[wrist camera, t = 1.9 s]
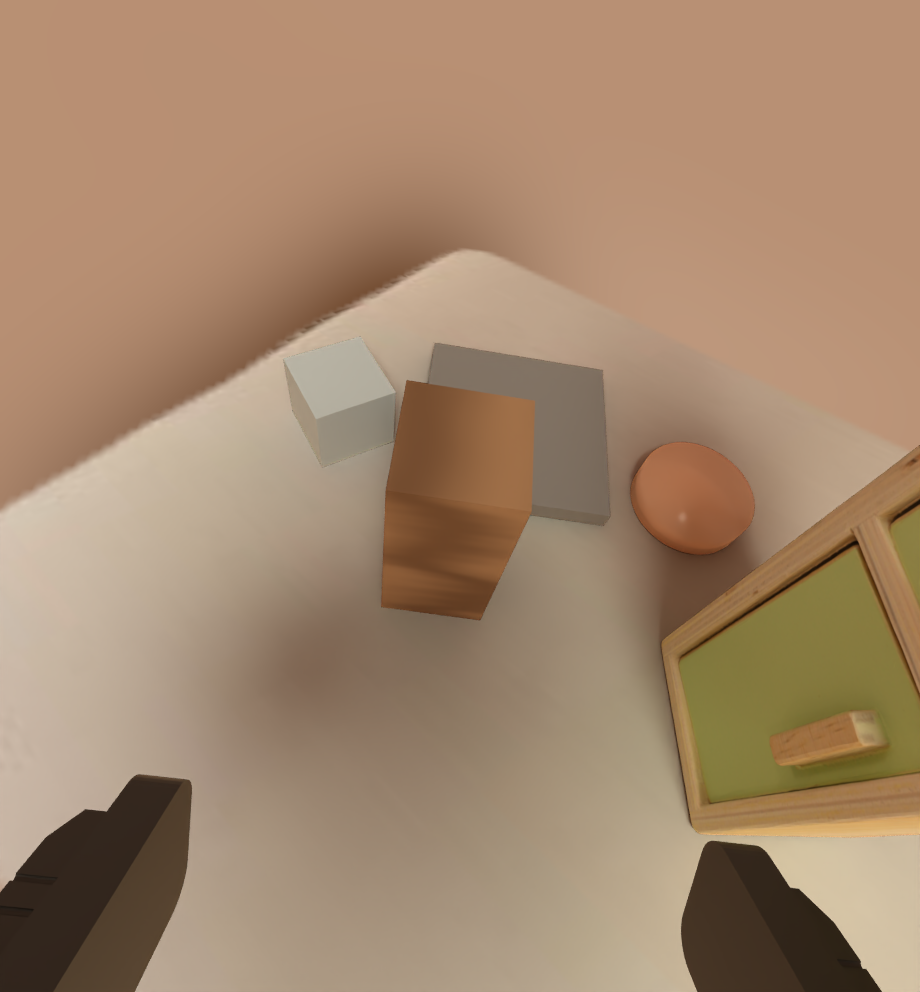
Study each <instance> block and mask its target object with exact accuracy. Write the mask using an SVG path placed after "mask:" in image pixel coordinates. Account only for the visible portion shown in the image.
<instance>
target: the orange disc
mask: <svg viewBox="0 0 920 992" xmlns="http://www.w3.org/2000/svg"><path fill="white" fill-rule="evenodd" d="M631 501H632V505H633V508H634V511H635V513H636V515H637V517H638V519H639V520H640V522H641V523H642V525H643V526H644V527H645V528H646V529H647V531H648V532H649V533H651V534H652V535H653V536H654V537H655V538H656V539H658V540H659V541H660V542H662V543H664V544H665V545H667V546H669V547H671V548H673V549H675V550H678V551H681V552H685V553H689V554H699V555H704V554H711V553H714V552H717V551H719V550H722V549H723V548H725V547H726V546H728V545H729V544H730V543H731V542H732V541H733V540H735V539H736V538H737V537H738V536H739V535H740V534H742V533H743V532H744V531H745V530H746V529H747V528H748V526H749V525H750V523H751V521H752V519H753V515H754V509H755V504H754V497H753V493H752V490H751V488H750V486H749V484H748V482H747V480H746V478H745V477H744V475H743V474H742V473H741V472H740V470H739V469H738V468H737V467H736V466H735V465H734V464H733V463H732V462H730V461H729V460H728V459H727V458H725V457H724V456H723V455H721V454H719V453H718V452H716V451H714V450H712V449H710V448H708V447H705V446H702V445H698V444H694V443H688V442H676V443H669V444H666V445H663V446H661V447H659V448H657V449H656V450H654V451H653V452H652V453H651V454H650V455H649V456H648V457H647V459H646V460H645V462H644V463H643V464H642V466H641V467H640V469H639V470H638V472H637V473H636V475H635V476H634V478H633V481H632V485H631Z"/></svg>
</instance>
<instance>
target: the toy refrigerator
mask: <svg viewBox="0 0 920 992" xmlns="http://www.w3.org/2000/svg"><path fill="white" fill-rule="evenodd" d="M661 648H662V655H663V661H664V667H665V673H666V678H667V684H668V690H669V695H670V701H671V707H672V713H673V719H674V725H675V730H676V736H677V742H678V747H679V753H680V759H681V765H682V771H683V777H684V782H685V787H686V794H687V800H688V806H689V812H690V818H691V823H692V826H693V828H694V830H695V831H696V832H697V833H699V834H706V835H751V836H804V837H848V838H851V837H876V836H898V835H920V445H919V446H918V447H916V448H915V449H914V450H912V451H911V452H910V453H909V454H907V455H906V456H905V457H903V458H902V459H901V460H899V461H898V462H897V463H896V464H894V465H893V466H892V467H890V468H889V469H888V470H887V471H885V472H884V473H883V474H881V475H880V476H879V477H877V478H876V479H875V480H873V481H872V482H871V483H869V484H868V485H867V486H865V487H864V488H863V489H861V490H860V491H859V492H857V493H856V494H855V495H853V496H852V497H851V498H849V499H848V500H847V501H845V502H844V503H843V504H841V505H840V506H839V507H837V508H836V509H835V510H833V511H832V512H831V513H829V514H828V515H827V516H825V517H824V518H823V519H822V520H820V521H819V522H818V523H816V524H815V525H814V526H812V527H811V528H810V529H808V530H807V531H806V532H804V533H803V534H802V535H800V536H799V537H798V538H796V539H795V540H794V541H792V542H791V543H790V544H788V545H787V546H786V547H784V548H783V549H782V550H780V551H779V552H778V553H776V554H775V555H774V556H772V557H771V558H770V559H768V560H767V561H766V562H764V563H763V564H762V565H760V566H759V567H758V568H757V569H755V570H754V571H753V572H751V573H750V574H749V575H747V576H746V577H745V578H743V579H742V580H741V581H739V582H738V583H737V584H735V585H734V586H733V587H731V588H730V589H729V590H727V591H726V592H725V593H724V594H722V595H721V596H720V597H718V598H717V599H715V600H714V601H713V602H711V603H710V604H709V605H708V606H706V607H705V608H704V609H702V610H701V611H700V612H698V613H697V614H696V615H695V616H693V617H692V618H691V619H689V620H688V621H687V622H685V623H684V624H683V625H681V626H680V627H679V628H677V629H676V630H675V631H674V632H672V633H671V634H670V635H668V636H667V637H666V638H665V639H664V640H663V641H662V646H661Z"/></svg>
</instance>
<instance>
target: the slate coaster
mask: <svg viewBox="0 0 920 992" xmlns="http://www.w3.org/2000/svg"><path fill="white" fill-rule="evenodd" d="M428 384H433V385H440V386H446V387H452V388H459V389H465V390H471V391H477V392H484V393H490V394H496V395H503V396H509V397H515V398H521V399H528V400H534V401H535V418H534V450H533V483H532V512H531V514H530V515H534V516H540V517H547V518H554V519H561V520H568V521H574V522H581V523H588V524H595V525H602V526H604V525H605V523H606V522H607V520H608V519H609V518H610V499H609V480H608V461H607V442H606V424H605V405H604V386H603V370H599V369H593V368H587V367H580V366H574V365H568V364H562V363H556V362H550V361H544V360H538V359H532V358H526V357H519V356H513V355H507V354H501V353H495V352H489V351H483V350H477V349H471V348H465V347H458V346H452V345H446V344H440V343H435V345H434V351H433V357H432V363H431V369H430V375H429V381H428Z"/></svg>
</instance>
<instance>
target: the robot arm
mask: <svg viewBox="0 0 920 992" xmlns="http://www.w3.org/2000/svg"><path fill="white" fill-rule="evenodd" d="M191 797H192V785H191V782H190V780H186V779H177V778H168V777H159V776H150V775H141V774H138V775H136V776H134V777H133V778H132V779H131V780H130V781H129V782H128V784H127V785H126V786H125V788H124V789H123V790H122V792H121V793H120V795H119V796H118V797H117V799H116V800H115V801H114V803H113V804H112V805H111V807H110V808H109V809H108V811H107V812H105V811H96V810H87V809H85V810H84V811H83V812H81V813H80V814H78V815H77V816H75V817H74V818H73V819H71V820H70V821H68V822H67V823H66V824H64V825H63V826H61V827H60V828H58V829H57V830H56V831H54V832H53V833H51V834H50V835H48V836H47V837H46V838H45V839H44V840H43V841H42V843H41V844H40V845H39V846H38V847H37V849H36V850H35V851H34V852H33V853H32V855H31V856H30V857H29V858H28V859H27V861H26V862H25V863H24V864H23V866H22V867H21V868H20V869H19V870H18V872H17V873H16V876H15V878H14V880H13V881H9V882H8V884H7V885H6V886H5V887H4V888H3V890H2V891H1V892H0V992H135V990H136V988H137V986H138V984H139V982H140V980H141V977H142V975H143V973H144V971H145V969H146V967H147V965H148V963H149V961H150V959H151V957H152V955H153V953H154V951H155V949H156V947H157V945H158V943H159V941H160V939H161V937H162V934H163V932H164V930H165V928H166V926H167V924H168V922H169V920H170V918H171V916H172V914H173V912H174V909H175V907H176V904H177V902H178V899H179V896H180V893H181V890H182V886H183V883H184V879H185V874H186V869H187V861H188V846H189V830H190V813H191ZM681 937H682V946H683V952H684V957H685V960H686V964H687V967H688V970H689V972H690V975H691V977H692V980H693V982H694V985H695V987H696V990H697V992H882V991H881V990H880V988H879V987H878V985H877V984H876V983H875V981H874V980H873V978H872V977H871V975H870V974H869V972H868V971H867V970H866V969H862V967H861V961H860V959H859V958H858V957H857V955H856V954H855V952H854V951H853V949H852V948H851V946H850V945H849V944H848V942H847V941H846V939H845V938H844V936H843V935H842V933H841V932H840V931H839V929H838V928H837V926H836V925H835V923H834V922H833V921H832V920H831V919H830V918H829V917H828V916H827V915H826V914H825V913H823V912H822V911H821V910H820V909H819V908H818V907H817V906H816V905H815V904H814V903H813V902H812V901H811V900H810V899H809V898H808V897H807V896H806V895H805V894H804V893H803V892H801V891H800V890H799V889H796V888H790V887H789V885H788V884H787V882H786V881H785V879H784V878H783V876H782V875H781V873H780V872H779V870H778V869H777V867H776V866H775V864H774V862H773V861H772V859H771V858H770V856H769V855H768V854H767V852H766V851H764V850H763V849H762V848H761V847H759V846H754V845H745V844H737V843H728V842H719V841H709V842H708V843H707V844H706V845H705V846H704V848H703V851H702V854H701V857H700V860H699V863H698V867H697V870H696V873H695V877H694V880H693V883H692V887H691V890H690V893H689V896H688V900H687V903H686V906H685V910H684V913H683V917H682V924H681Z"/></svg>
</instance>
